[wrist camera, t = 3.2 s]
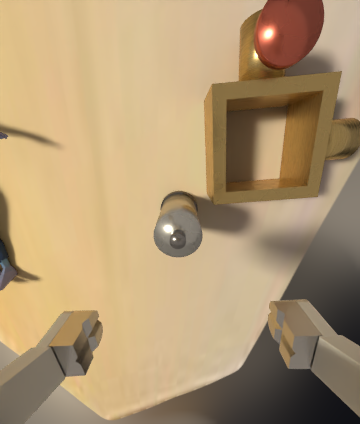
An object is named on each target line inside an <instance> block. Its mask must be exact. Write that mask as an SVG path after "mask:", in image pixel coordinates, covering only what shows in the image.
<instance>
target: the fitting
mask: <svg viewBox="0 0 360 424" xmlns="http://www.w3.org/2000/svg"><path fill="white" fill-rule="evenodd" d="M323 22H324V6H323V2H322V0H268V1H267V3H266V4H265V6H264V8H263V9H261V10H259V11H257V12H256V13H254V14H253V15H251V16H250V17H249V18H247V19H246V20H245V22H244V23H243V24H242V26H241V28H240V54H239V81H238V82H228V83H218V84H212V85H211V87H210V90H209V92H208V94H207V96H206V98H205V101H204V112H205V146H206V180H207V194H208V196H209V198H210V199H211V201H212V202H213V204H214V205H216V204H229V203H242V202H256V201H269V200H282V199H295V198H308V197H318V192H319V187H320V182H321V177H322V171H323V166H324V161H325V160H336V159H344V158H347V157H349V156H351V155H352V154H353V153H354V152H355V151H356V150H357V149H358V147H359V146H360V121H359V120H357V119H355V118H346V119H335V120H332V119H333V114H334V109H335V104H336V99H337V94H338V88H339V83H340V78H341V73H342V71H340V72H329V73H319V74H309V75H299V76H289V77H285V69H287V68H289V67H291V66H293V65H294V64H296V63H297V62H299V61H300V60H301V59H302V58H304V57H305V56H306V55H307V54H308V53H309V52H310V51H311V50H312V48H313V47H314V45H315V44H316V42H317V40H318V38H319V36H320V34H321V31H322V27H323ZM281 106H288V108H287V117H286V126H285V135H284V144H283V153H282V162H281V171H280V179H267V180H255V181H242V182H230V183H226V112H227V111H238V110H248V109H259V108H270V107H281Z"/></svg>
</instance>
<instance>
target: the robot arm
mask: <svg viewBox="0 0 360 424" xmlns="http://www.w3.org/2000/svg"><path fill="white" fill-rule="evenodd" d="M269 309H270V310H271V313H270V314H269V315H268V324H269V329H270V332H271V334H272V336H273V338H274V340H276V341H277V342H278V343H279V344H280V349H279V350H280V353H281V355H282V356H283V358H284V361H285V363H286V365H287V367H288V369H311V370H312V372H313V373H314V374H315V375H317V376H318V377H319V378H320V379H321V380H322V381H323V382H324V383H325V384H326V385H327V386H328V387H329V388H330V389H331V390H332V391H333V392H334V393H335V394H336V395H337V396H338V397H340V399H342V400H343V401H344V402H345V403H346V404H347V405H348V406H349V407H350V408H351V409H352V410H353V411H354V412H355V413H356V414H357V415H358V416H360V346H358V345H357V344H355V343H353V342H352V341H350V340H349V339H347V338H345V337H344V336H342V335H341V336H340V335H337V334H336V333H335V331H334V330H333V329H332V328H331V327H330V326H329V324H328V323H327V322H326V321H325V320H324V319H323V318H322V316H321V315H320V314H319V313H318V312H317V310H316V309H315V308H314V307H313V306H312V305H311V304H310V302H308V301H307V300H306V299H303V300H284V301H271V302H270V303H269ZM98 317H99V314H98V312H97V311H95V310H91V311H65V312H63V313H62V314H61V315H60V316H59V317H58V318H57V320H56V321H55V322H54V324H53V325H52V326H51V327H50V329H49V330H48V331H47V333H46V334H45V335H44V337H43V338H42V339H41V340H40V342H39V343H38V344H37V346H36V347H35V348H31V349H29V350H28V351H27V352H25V353H24V354H22V355H21V356H20V357H18V358H17V359H16V360H14V361H13V362H11V363H10V364H9V365H7V366H6V367H5V368H3V369H2V370H0V424H24V423H25V422H26V421H27V420H28V419H29V418H30V417H31V416H32V414H33V413H34V412H35V411H36V410H37V409H38V408H39V407H40V406H41V404H42V403H43V402H44V401H45V400H46V399H47V398H48V397H49V396H50V394H51V393H52V392H53V391H54V390H55V389H56V388H57V387H58V386H59V385H60V383H61V382H62V381H63V380H64V379H65V377H68V376H82V375H86V373H87V370H88V368H89V366H90V364H91V361H92V359H93V351H94V350H95V349H96V348H97V347H98V346H99V343H100V341H101V338H102V333H103V327H102V323H101V322H100V321H99V320H97V319H98Z"/></svg>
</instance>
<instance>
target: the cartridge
mask: <svg viewBox="0 0 360 424" xmlns="http://www.w3.org/2000/svg"><path fill="white" fill-rule="evenodd" d="M154 241H155V244H156V246H157V247H158V248H159V249H160V251H162V252H163V253H165V254H166V255H169V256H172V257H184V256H188V255H190V254H192V253H193V252H195V251H196V250H197V249H198V247H199V246H200V244H201V241H202V230H201V226H200V222H199V218H198V215H197V205H196V202H195V200H194V198H193V197H192V196H191V195H190V194H188V193H186V192H182V191H175V192H172V193H170V194H168V195H167V196H166V197H165V198H164V200H163V202H162V204H161V212H160V215H159V218H158V221H157V224H156V227H155V229H154Z"/></svg>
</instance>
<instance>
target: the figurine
mask: <svg viewBox="0 0 360 424" xmlns="http://www.w3.org/2000/svg"><path fill="white" fill-rule="evenodd" d="M7 137H8V135H6V134H3V133H1V132H0V139H3V138H5V139H7ZM8 257H9V256H8V254H7V251H6V249H5V246H4V243H3V242H2V240H1V239H0V264H1V266H2V268H3V270H2V271H1V270H0V290H2V289H4V288H5V287H6V286H7V284H8V283H9V282H10V281H11V280H12V279H13V278H14V277H15V276H16V275H17V274H18V273H17V271H16V269H15V268H14V267H12V266H11V265H10V263H9V261H8V259H7V258H8Z"/></svg>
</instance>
